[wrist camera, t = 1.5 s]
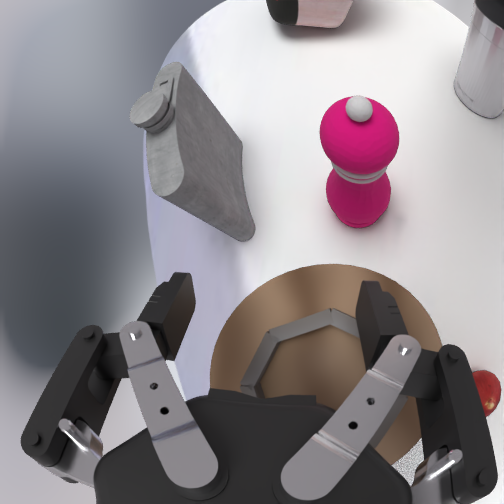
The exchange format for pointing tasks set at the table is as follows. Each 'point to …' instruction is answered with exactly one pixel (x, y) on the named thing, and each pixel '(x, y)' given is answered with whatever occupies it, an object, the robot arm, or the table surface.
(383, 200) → the pepper mill
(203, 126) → the hip flask
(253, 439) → the robot arm
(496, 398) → the onion
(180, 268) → the table surface
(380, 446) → the ring stand
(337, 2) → the packaged food
